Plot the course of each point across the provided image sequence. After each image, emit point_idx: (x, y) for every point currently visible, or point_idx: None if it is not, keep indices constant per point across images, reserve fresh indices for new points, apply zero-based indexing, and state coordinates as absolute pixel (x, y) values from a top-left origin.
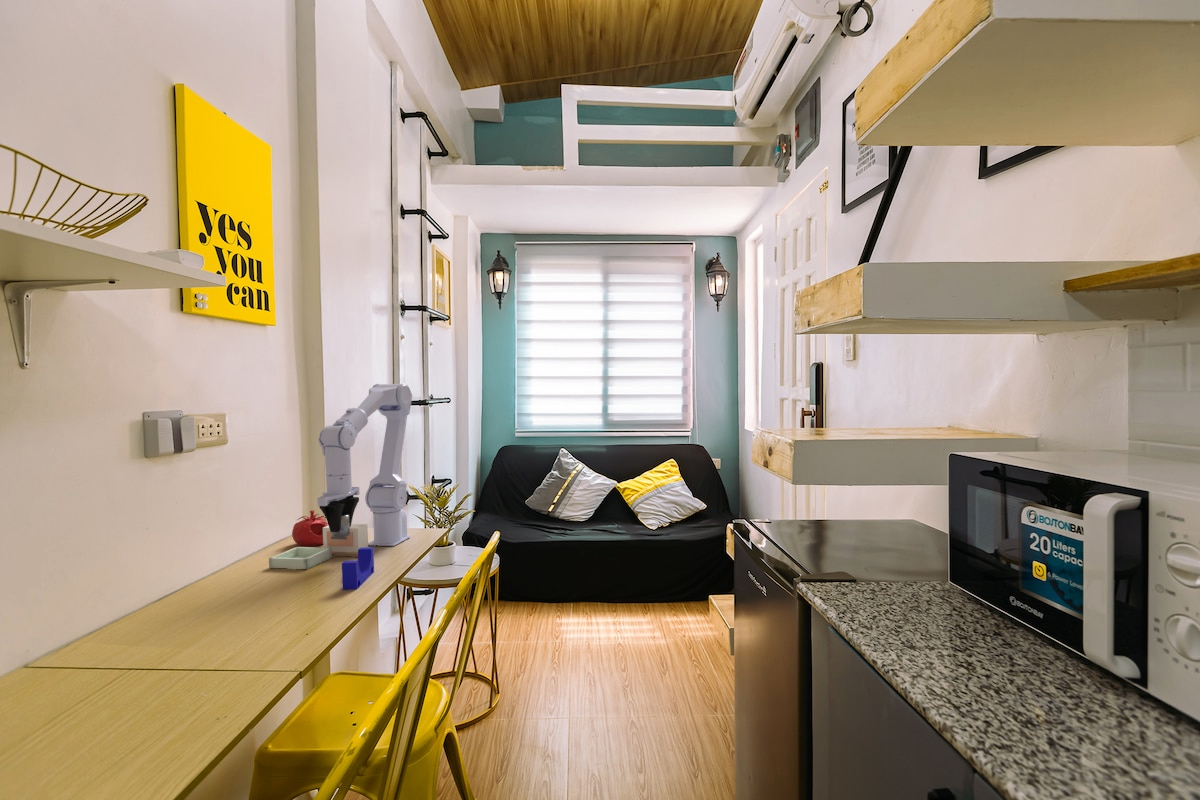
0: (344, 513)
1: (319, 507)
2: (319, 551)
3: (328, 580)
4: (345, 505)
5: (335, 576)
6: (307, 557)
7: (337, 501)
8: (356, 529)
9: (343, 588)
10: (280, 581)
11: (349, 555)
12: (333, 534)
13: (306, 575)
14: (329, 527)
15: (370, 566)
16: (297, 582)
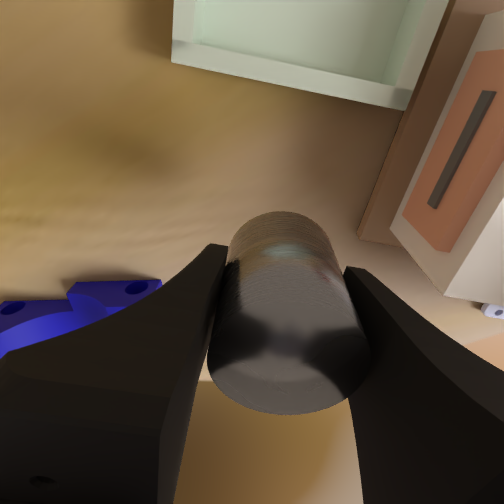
0: (355, 376)
1: (3, 357)
2: (410, 26)
3: (69, 228)
4: (402, 462)
5: (114, 234)
6: (210, 49)
7: (492, 459)
8: (443, 283)
9: (1, 305)
10: (3, 12)
11: (374, 192)
12: (234, 240)
13: (108, 108)
14: (196, 257)
15: None
16: (17, 115)
